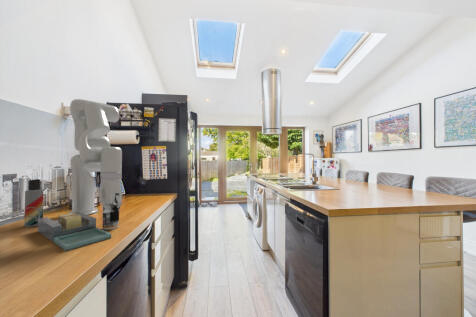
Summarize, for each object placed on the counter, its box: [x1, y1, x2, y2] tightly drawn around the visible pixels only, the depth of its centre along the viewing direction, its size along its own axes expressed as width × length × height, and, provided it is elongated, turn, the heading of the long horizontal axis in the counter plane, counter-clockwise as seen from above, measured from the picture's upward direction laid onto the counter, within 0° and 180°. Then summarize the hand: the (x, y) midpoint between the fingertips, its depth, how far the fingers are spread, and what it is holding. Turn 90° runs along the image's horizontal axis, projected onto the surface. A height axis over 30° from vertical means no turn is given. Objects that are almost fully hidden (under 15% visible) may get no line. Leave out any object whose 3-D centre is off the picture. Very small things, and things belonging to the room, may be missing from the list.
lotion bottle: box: [23, 178, 44, 228], centre depth 87 cm, size 6×6×20 cm
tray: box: [53, 227, 112, 252], centre depth 70 cm, size 12×13×2 cm
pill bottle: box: [102, 203, 120, 231], centre depth 83 cm, size 6×6×10 cm
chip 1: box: [58, 212, 76, 226], centre depth 79 cm, size 4×4×4 cm
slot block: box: [37, 212, 97, 243], centre depth 79 cm, size 19×13×5 cm
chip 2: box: [63, 215, 81, 228], centre depth 76 cm, size 4×4×4 cm
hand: (110, 219), depth 83 cm, fingers closed on pill bottle, 5 cm apart
